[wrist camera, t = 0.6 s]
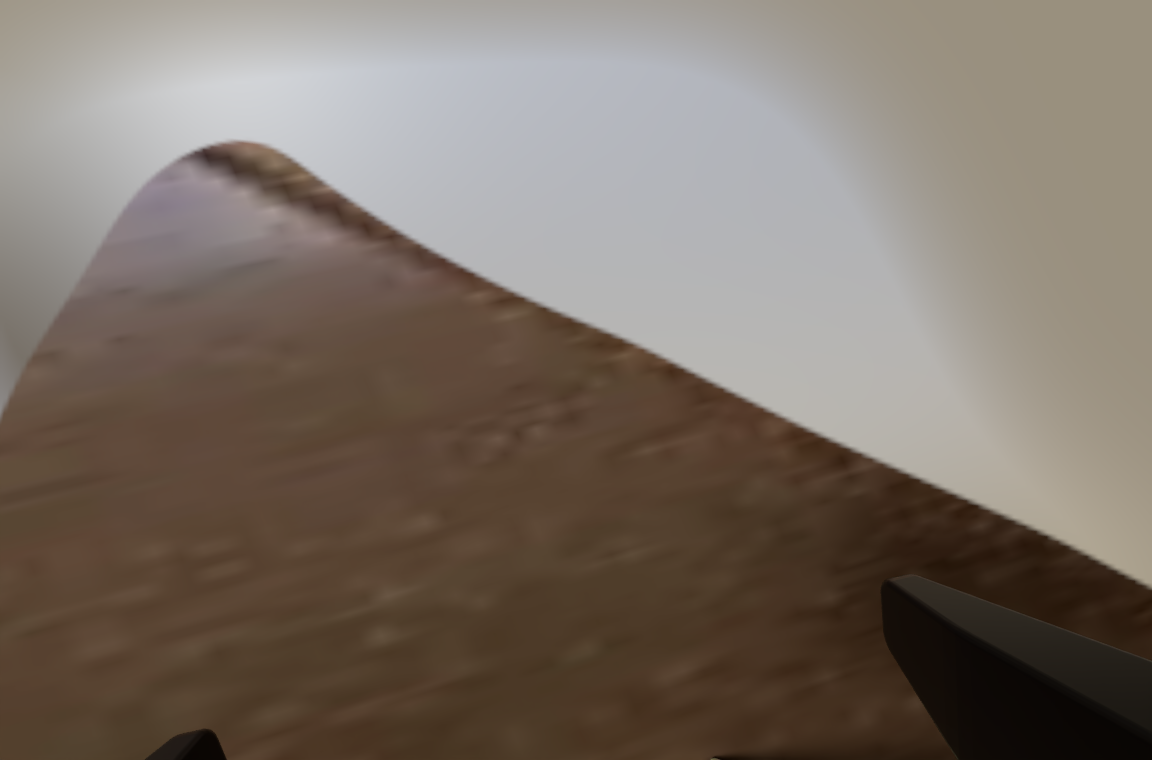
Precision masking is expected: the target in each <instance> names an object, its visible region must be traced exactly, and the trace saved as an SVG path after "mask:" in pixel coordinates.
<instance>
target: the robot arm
mask: <svg viewBox="0 0 1152 760" xmlns="http://www.w3.org/2000/svg"><path fill="white" fill-rule="evenodd" d="M881 604H882V619H883V632H884V637H885V640H886V643H887V646H888V648H889V650H890V652H891V653H892V655H893V657H894V658H895V660H896V661H897V663H898V665H899V666H900V668H901V670H902V671H903V673H904V674H905V676H906V678H907V679H908V681H909V683H910V684H911V686H912V687H913V689H914V691H915V692H916V694H917V695H918V697H919V699H920V700H921V702H922V704H923V705H924V707H925V708H926V710H927V712H928V713H929V715H930V717H931V718H932V720H933V721H934V723H935V725H936V726H937V728H938V729H939V731H940V733H941V734H942V736H943V738H944V739H945V741H946V742H947V744H948V746H949V747H950V749H951V750H952V752H953V753H954V755H955V756H956V758H957V759H958V760H1152V661H1151V660H1148V659H1145V658H1142V657H1140V656H1137V655H1134V654H1131V653H1129V652H1126V651H1123V650H1120V649H1118V648H1115V647H1112V646H1109V645H1107V644H1104V643H1101V642H1098V641H1096V640H1093V639H1090V638H1087V637H1085V636H1082V635H1079V634H1076V633H1074V632H1071V631H1068V630H1065V629H1063V628H1060V627H1057V626H1054V625H1052V624H1049V623H1046V622H1044V621H1041V620H1038V619H1035V618H1033V617H1030V616H1027V615H1024V614H1022V613H1019V612H1016V611H1013V610H1011V609H1008V608H1005V607H1002V606H1000V605H997V604H994V603H991V602H989V601H986V600H983V599H980V598H978V597H975V596H972V595H969V594H967V593H964V592H961V591H958V590H956V589H953V588H950V587H947V586H945V585H942V584H939V583H936V582H934V581H931V580H928V579H925V578H923V577H920V576H917V575H912V574H909V575H904V576H900V577H895V578H891V579H887V580H885V581H884V582H883V583H882V585H881ZM145 760H227V759H226V757H225V754H224V752H223V750H222V747H221V745H220V742H219V740H218V738H217V736H216V734H215V733H214V732H213V731H212V730H210V729H201V730H196V731H192V732H187V733H183V734H179V735H177V736H175V737H173V738H172V739H170V740H169V741H168V742H166V743H165V744H164V745H163V746H161V747H160V748H159V749H157V750H156V751H155V752H154V753H152V754H151V755H150V756H149V757H147V758H146V759H145Z"/></svg>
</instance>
